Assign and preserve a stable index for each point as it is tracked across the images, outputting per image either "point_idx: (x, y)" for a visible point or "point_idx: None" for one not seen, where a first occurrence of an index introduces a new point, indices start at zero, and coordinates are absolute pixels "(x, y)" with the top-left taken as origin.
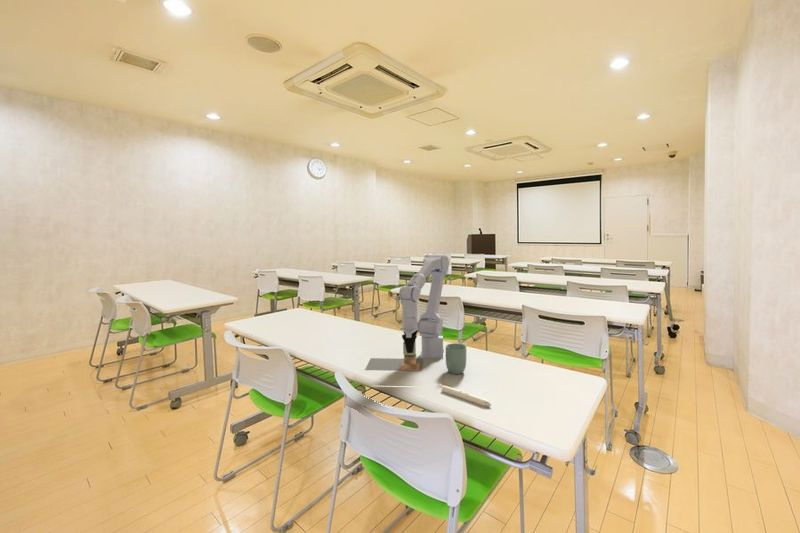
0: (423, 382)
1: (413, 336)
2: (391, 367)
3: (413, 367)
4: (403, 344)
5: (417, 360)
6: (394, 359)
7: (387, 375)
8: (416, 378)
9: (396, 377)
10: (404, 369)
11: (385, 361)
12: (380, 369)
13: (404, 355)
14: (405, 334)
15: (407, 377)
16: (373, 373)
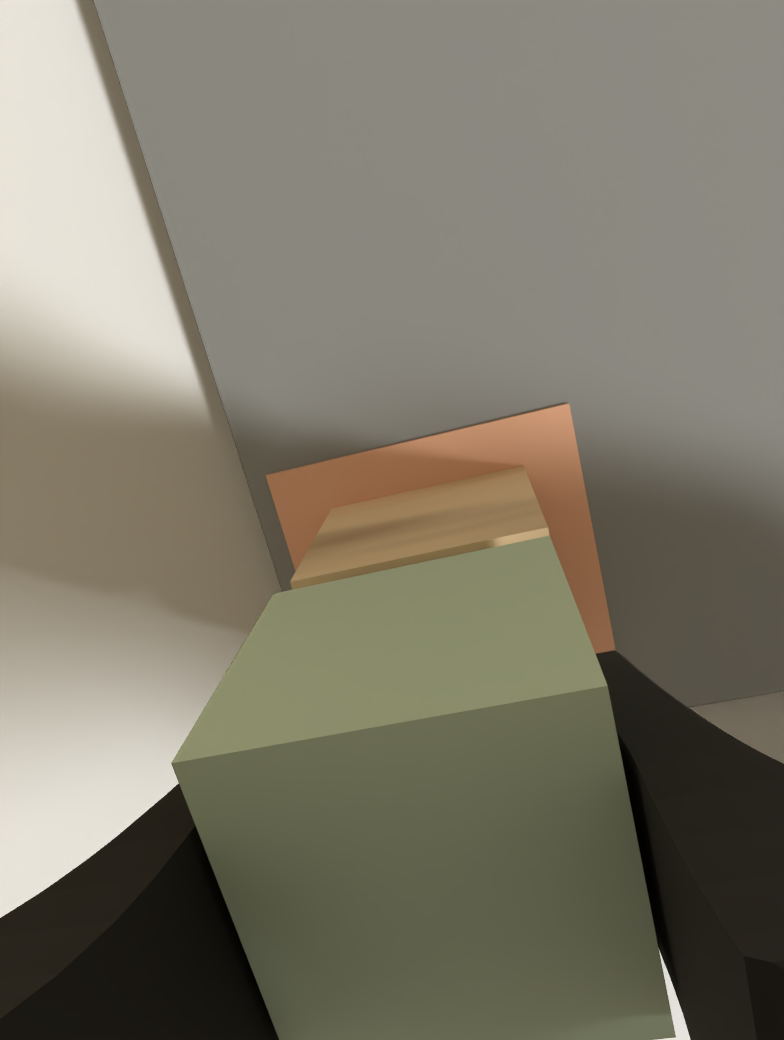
0: (40, 835)
1: None
2: (316, 274)
3: None
4: (181, 755)
5: (768, 612)
6: (756, 162)
7: (37, 319)
8: (114, 739)
9: (30, 481)
10: (292, 527)
11: (599, 4)
12: (153, 102)
13: (401, 561)
14: (704, 935)
15: (96, 625)
16: (7, 27)
